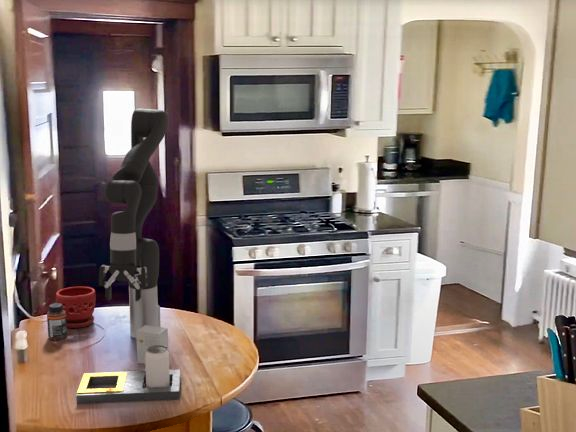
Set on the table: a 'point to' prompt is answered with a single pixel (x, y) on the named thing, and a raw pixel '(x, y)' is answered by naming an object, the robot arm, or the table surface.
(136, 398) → the grey slotted tray
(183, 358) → the table surface
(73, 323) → the plant pot
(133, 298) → the robot arm
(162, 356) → the can
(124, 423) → the table surface
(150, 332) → the small box
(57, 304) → the supplement bottle
